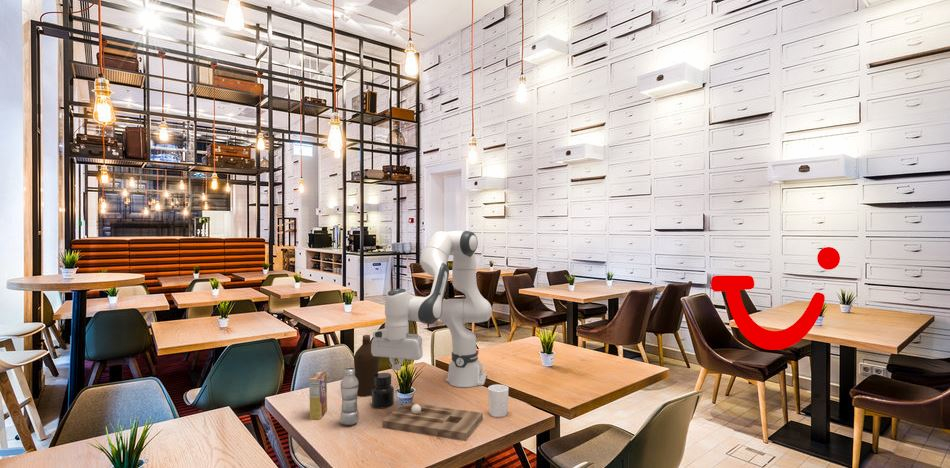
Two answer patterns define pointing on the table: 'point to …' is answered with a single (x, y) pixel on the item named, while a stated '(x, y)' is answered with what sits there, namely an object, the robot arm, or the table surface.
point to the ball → (416, 409)
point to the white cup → (498, 400)
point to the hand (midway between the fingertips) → (396, 369)
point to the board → (434, 421)
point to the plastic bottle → (349, 397)
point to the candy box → (318, 395)
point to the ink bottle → (382, 391)
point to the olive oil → (365, 367)
